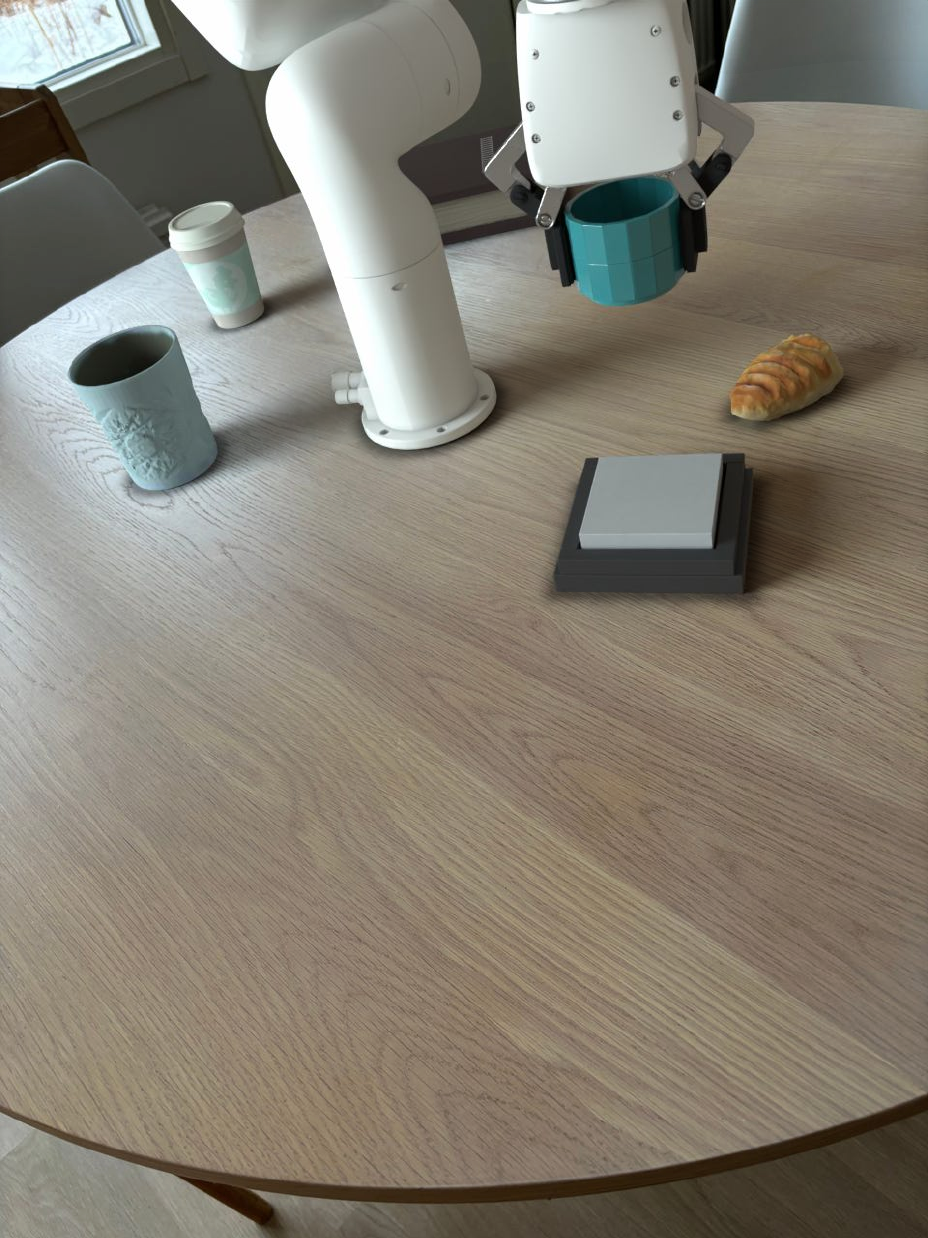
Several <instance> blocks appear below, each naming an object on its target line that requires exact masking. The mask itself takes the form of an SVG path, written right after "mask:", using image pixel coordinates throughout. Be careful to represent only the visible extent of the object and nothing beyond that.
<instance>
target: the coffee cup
mask: <svg viewBox="0 0 928 1238" xmlns="http://www.w3.org/2000/svg"><path fill="white" fill-rule="evenodd" d="M245 224H246V221H245V219H244V218H243V215H242V213H241V212H239V211H238V210H237V208H236V206H235V205H234V204H233V203H232V202H230V201H225V200H217V201H216V200H215V201H210V202H205V203H201V204H199V205H195V206H192V207H191V208H187V209H186V210H184V211H182V212H180V213H179V214H177V215H176V216H175V217H173V218H172V219H171V220H170V222H169V223H168V233H169V236H168V241H169V243H170V244H169V245H170V248H171V249H172V250H174V251H175V252H176V253H177V255H178V257H179V259H180V260H181V262H182V264H183V267H184V268H185V270H186V272H187V273H188V275H189V277H190V279H191V281H192V282H193V284H194V286H195V288H196V290H197V291H198V293H199V295H200V296H201V299H202V300H203V302H204V304H205V306H206V307H207V309H208V311H209V312H210V315H211V316H212V318H213V320H214V321H215V323H216V325H217V326H218V327H219V328H222V329H226V330H227V329H237V328H240V327H244V326H247V325H249V324H252V323H253V322H255V321H256V320H258V319H259V318H260V317H261V316H262V315H263V313H264V312H265V306H264V301H263V298H262V294H261V289H260V285H259V281H258V278H257V274H256V271H255V266H254V262H253V258H252V254H251V250H250V247H249V243H248V239H247V235H246V231H245V228H244V226H245Z"/></svg>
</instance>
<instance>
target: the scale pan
mask: <svg viewBox="0 0 928 1238" xmlns="http://www.w3.org/2000/svg"><path fill="white" fill-rule="evenodd" d="M722 454H723V452H722V453H721V452H715V453H714V452H712V453H709V452H708V453H679V454H678V453H677V454H652V455H651V454H648V455H619V456H618V455H617V456H616V455H615V456H599V457H598V458H599V461H598V465H597V468H596V472H595V476H594V480H593V484H592V487H591V491H590V495H589V499H588V503H587V507H586V510H585V514H584V518H583V522H582V526H581V529H580V533H579V536H580V542H581V547H582V549H714V541H715V533H716V525H717V517H718V509H719V501H720V492H721V484H722V476H723V455H722Z"/></svg>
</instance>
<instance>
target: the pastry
mask: <svg viewBox="0 0 928 1238" xmlns="http://www.w3.org/2000/svg"><path fill="white" fill-rule="evenodd" d="M844 374H845V373H844V368H843V366H842V365H841V363H840V360H839V357H838V356H837V355H836V354H835V353H834V352H833V349H832V346H831V344H830V343H829V342H828V341H826V340H825V339H823V338H822V337H820V336H817V335H815V334H812V333H804V334H794V333H793V334H790V335H789V337H788V338H785V339H783V340H782V341H781V342H780V343H778V344H777V345H775V346H773V347H770V348H768V349H766V350H765V351H763V352H761V353H759V354H758V355H756V357H755V358H754V359H753V360H752V362H750V363H749V365H748V366H747V367H746V368H745V369H744V370H743V372H742V373H741V376H740V377H739V378H738V379H737V382H736V383H735V385H734V387H733V389H732V390H731V392H730V393H729V400H730V413H731V415H734V416H736V417H739V418H740V419H745V420H751V421H758V422H766V421H767V422H770V421H772V420H778V419H780V418H781V417H782V416H785V415H789V414H794V413H797V412H798V411H801V410H803V409H804V408H806V407H809V406H811V405H812V404H814V403H815V402H817V401H819V399H820V398H822V397H823V396H827V395H828V394H829V395H830V393H832V392H833V391H834V390H835V387H836V386H837V385H839V383H840V381H841V380H842V379H843V378H844Z"/></svg>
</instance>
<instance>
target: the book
mask: <svg viewBox="0 0 928 1238" xmlns="http://www.w3.org/2000/svg"><path fill="white" fill-rule="evenodd" d="M519 124H520V122H519V123H513V124H509V125H505V126H501V127H497V128H492V129H489V130H485V131H480V132H476V133H472V134H467V135H462V136H458V137H455V138H449V139H446V140H442V141H438V142H433V143H430V144H425V145H420V146H417V147H416V146H415V147H412V149H410V150H409V151H408V152H406V153H405V154H403V155H402V156H400V157H399V159H398V166H399V168H400V170H401V171H402V173H403V174H404V175H405V176H406V177H407V178H408V179H409V180H410V181H411V182H412V183H413V184H414V185H416V186H417V187H418V188H419V189H420V190H421V191H422V192H423V193H424V195H425V196H426V197H427V199H428V200H429V202H430V204H431V206H432V208H433V210H434V213H435V216H436V219H437V223H438V227H439V231H440V235H441V239H442V243H443V246H447V245H452V244H456V243H461V242H466V241H470V240H471V241H472V240H475V239H478V238H483V237H487V236H488V237H489V236H492V235H493V236H494V235H497V234H501V233H506V232H511V231H515V230H519V229H520V230H521V229H524V228H529V227H535V226H537V224H536V220H535V219H533V218H532V217H531V216H529V215H528V214H527V213H525V212H524V211H522V210H521V209H520V208H518V207H517V206H516V205H514V204H513V203H512V202H511V200H510V197H509V196H508V195H507V194H506V193H505V194H504V193H503V192H502V191H501V190H500V189H499V188H498V187H497V186H495V185H494V184H493V183H492V182H491V181H490V180H489V179H488V178H487V177H486V176H485V168H486V166H487V164H488V162H489V160H490V159H491V158H492V156H493V155H494V154H495V153H496V151H497V150H498V149H499V148H500V147H501V145H502V144H503V143H504V142H505V141H506V139H507V138H508V137H509V136H510V134H511V133H512V132H513V131H514V130H515V128H516V127H517V126H518V125H519ZM515 167H516V169H517V170H518V171H519V172H520V174H521V175H522V176H523V177H527V178H529V179H530V180H531V181H533V182H534V183H535V184H537V185H538V186H539V187H541V188H542V189H543V190H546V186H543V185H540V184H538V183H537V182H536V181H535V180H534V178H533V176H532V173H531V170H530V166H529V162H528V157H527V151H525V152H524V153H523V154H522V156H521V157H520V158H519V159H518V160H517V161H516V163H515ZM567 203H568V202H567V199H566V194H565V195H564V198H563V201H562V204H564V206H565V207H566V205H567Z"/></svg>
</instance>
